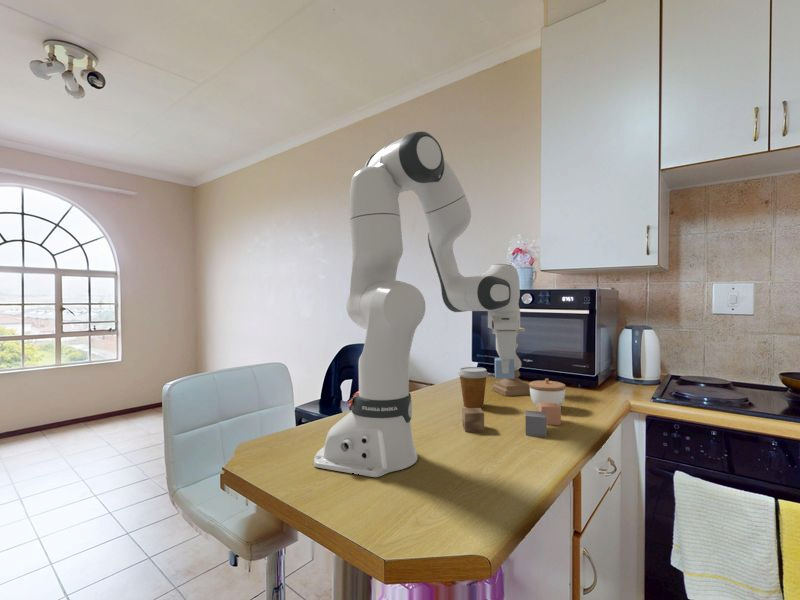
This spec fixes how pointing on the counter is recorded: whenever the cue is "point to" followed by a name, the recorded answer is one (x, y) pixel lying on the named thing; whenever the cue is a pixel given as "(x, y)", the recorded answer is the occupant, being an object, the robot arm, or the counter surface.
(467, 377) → the disposable coffee cup
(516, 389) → the candle holder
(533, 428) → the charcoal cube
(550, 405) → the terracotta cube
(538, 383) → the lidded jar
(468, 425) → the walnut cube
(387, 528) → the counter surface
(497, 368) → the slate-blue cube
